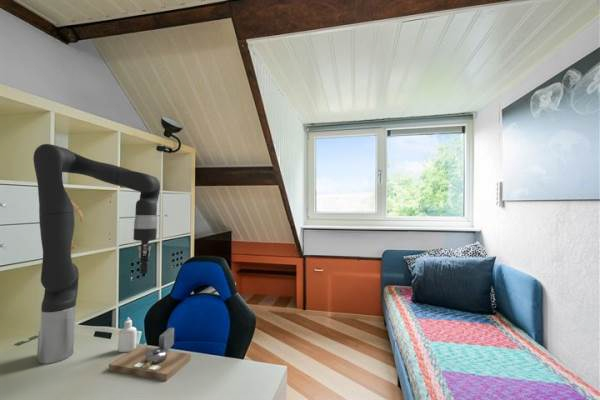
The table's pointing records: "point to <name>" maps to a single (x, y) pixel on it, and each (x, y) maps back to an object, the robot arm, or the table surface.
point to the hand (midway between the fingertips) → (143, 273)
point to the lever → (160, 348)
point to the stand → (162, 370)
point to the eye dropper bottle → (127, 337)
